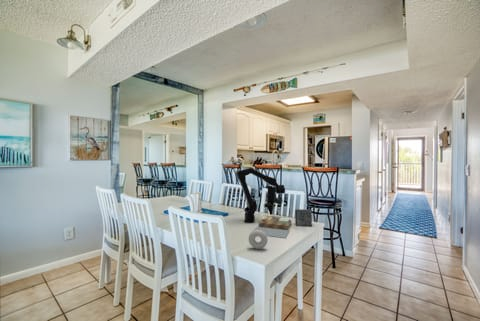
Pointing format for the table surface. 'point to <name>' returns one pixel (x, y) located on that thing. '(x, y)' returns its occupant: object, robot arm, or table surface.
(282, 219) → the sage tile
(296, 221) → the small box
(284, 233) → the mat
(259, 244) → the donut
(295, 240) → the table surface
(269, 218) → the maple tile
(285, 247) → the table surface
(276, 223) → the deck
